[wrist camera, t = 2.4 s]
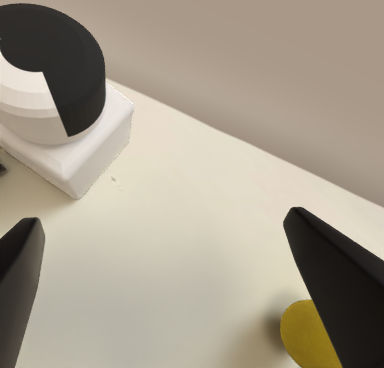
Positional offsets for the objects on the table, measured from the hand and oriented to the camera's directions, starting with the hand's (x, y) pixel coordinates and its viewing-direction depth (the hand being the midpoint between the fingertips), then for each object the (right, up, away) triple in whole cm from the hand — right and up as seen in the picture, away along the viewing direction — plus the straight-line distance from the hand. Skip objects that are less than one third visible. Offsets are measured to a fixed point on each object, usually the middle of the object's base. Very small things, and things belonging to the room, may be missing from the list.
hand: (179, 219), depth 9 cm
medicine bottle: (-10, +5, +13) cm, 17 cm away
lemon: (+10, -12, +16) cm, 22 cm away
